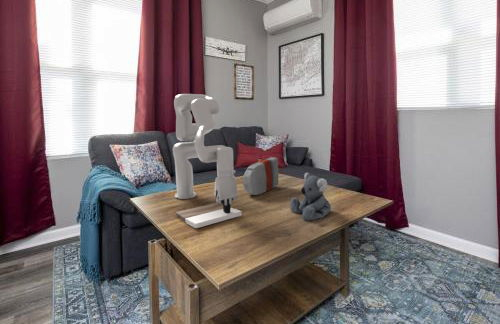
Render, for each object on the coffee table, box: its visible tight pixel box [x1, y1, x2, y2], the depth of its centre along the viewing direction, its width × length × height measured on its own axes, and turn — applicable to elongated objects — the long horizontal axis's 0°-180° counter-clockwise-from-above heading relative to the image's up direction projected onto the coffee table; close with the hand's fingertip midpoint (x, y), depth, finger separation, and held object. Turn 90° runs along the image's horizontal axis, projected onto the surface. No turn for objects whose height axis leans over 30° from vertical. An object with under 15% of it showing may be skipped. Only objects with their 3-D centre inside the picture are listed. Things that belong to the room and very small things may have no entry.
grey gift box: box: [242, 156, 279, 196], centre depth 175 cm, size 19×6×30 cm
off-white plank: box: [184, 206, 243, 229], centre depth 133 cm, size 10×24×2 cm, turn 128°
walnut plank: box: [175, 201, 223, 223], centre depth 141 cm, size 10×24×2 cm, turn 128°
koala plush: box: [289, 171, 332, 221], centre depth 138 cm, size 17×18×20 cm
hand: (227, 212), depth 135 cm, fingers closed
